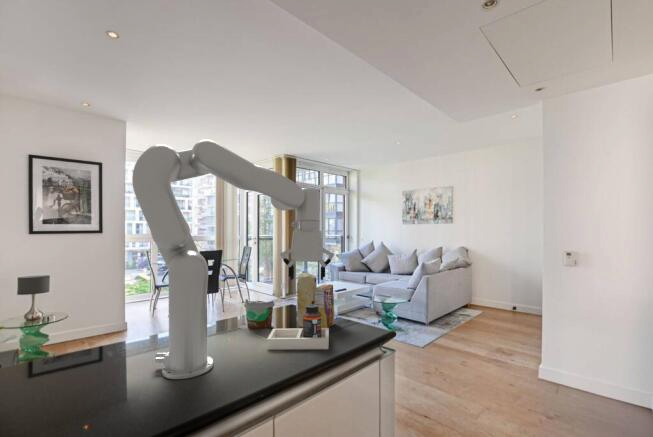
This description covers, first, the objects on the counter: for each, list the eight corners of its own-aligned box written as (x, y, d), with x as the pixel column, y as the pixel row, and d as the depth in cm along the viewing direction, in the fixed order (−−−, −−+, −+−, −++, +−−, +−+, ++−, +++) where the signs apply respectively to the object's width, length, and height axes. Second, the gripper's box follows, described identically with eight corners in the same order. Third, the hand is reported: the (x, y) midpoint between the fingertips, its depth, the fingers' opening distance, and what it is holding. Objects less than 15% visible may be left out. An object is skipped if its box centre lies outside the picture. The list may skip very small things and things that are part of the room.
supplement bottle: (320, 344, 98) (319, 308, 98) (301, 344, 99) (301, 307, 99) (322, 337, 104) (322, 303, 104) (305, 337, 104) (304, 303, 105)
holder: (267, 349, 97) (267, 339, 97) (273, 338, 107) (273, 328, 107) (328, 349, 96) (328, 338, 96) (328, 337, 106) (328, 328, 106)
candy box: (324, 322, 123) (324, 283, 124) (334, 323, 121) (334, 284, 122) (314, 329, 115) (314, 287, 116) (325, 330, 113) (324, 288, 114)
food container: (237, 329, 117) (237, 302, 117) (246, 324, 122) (246, 298, 123) (267, 332, 113) (266, 304, 113) (274, 326, 119) (274, 300, 119)
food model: (321, 326, 118) (321, 273, 119) (308, 330, 114) (307, 275, 114) (305, 321, 125) (305, 271, 126) (292, 325, 121) (291, 273, 121)
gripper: (279, 226, 98) (278, 280, 97) (334, 226, 98) (333, 281, 97) (282, 226, 106) (282, 277, 105) (334, 226, 105) (333, 277, 104)
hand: (307, 279), depth 101 cm, fingers open, 9 cm apart
